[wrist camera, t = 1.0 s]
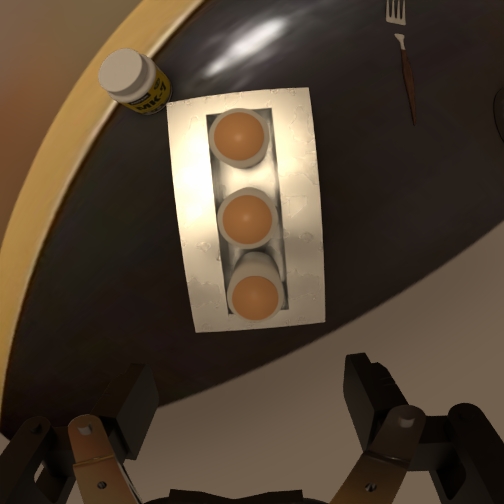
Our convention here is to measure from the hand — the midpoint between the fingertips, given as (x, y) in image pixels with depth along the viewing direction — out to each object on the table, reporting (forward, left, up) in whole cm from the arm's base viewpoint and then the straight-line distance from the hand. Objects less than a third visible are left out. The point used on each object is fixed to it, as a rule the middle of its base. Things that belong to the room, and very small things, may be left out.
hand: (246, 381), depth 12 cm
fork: (-19, -21, -21) cm, 35 cm away
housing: (0, -5, -20) cm, 21 cm away
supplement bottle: (+9, -18, -21) cm, 29 cm away
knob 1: (0, -11, -16) cm, 19 cm away
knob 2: (0, -5, -16) cm, 17 cm away
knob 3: (0, 0, -16) cm, 16 cm away
